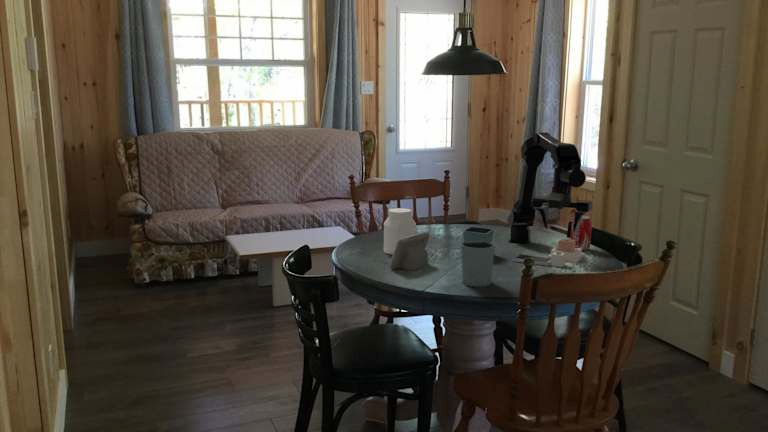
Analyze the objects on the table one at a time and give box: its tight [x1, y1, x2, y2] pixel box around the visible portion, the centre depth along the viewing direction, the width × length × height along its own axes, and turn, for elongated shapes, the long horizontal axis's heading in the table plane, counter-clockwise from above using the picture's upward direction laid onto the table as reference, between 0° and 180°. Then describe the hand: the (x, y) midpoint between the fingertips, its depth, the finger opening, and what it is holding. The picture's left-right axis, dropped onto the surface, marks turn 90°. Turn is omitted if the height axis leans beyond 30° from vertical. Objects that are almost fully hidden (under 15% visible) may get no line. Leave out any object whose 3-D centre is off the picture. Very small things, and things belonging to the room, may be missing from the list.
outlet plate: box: [547, 245, 585, 263], centre depth 232 cm, size 10×10×3 cm
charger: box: [557, 238, 575, 253], centre depth 232 cm, size 4×4×5 cm
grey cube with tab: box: [550, 252, 566, 268], centre depth 222 cm, size 4×4×4 cm
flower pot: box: [462, 226, 494, 243], centre depth 235 cm, size 9×9×9 cm
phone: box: [512, 253, 551, 267], centre depth 226 cm, size 12×6×1 cm, turn 60°
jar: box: [383, 207, 417, 256], centre depth 239 cm, size 12×10×15 cm
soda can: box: [570, 214, 592, 251], centre depth 243 cm, size 7×7×12 cm
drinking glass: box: [460, 241, 496, 288], centre depth 201 cm, size 10×10×12 cm
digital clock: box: [389, 231, 430, 271], centre depth 220 cm, size 16×9×11 cm, turn 130°
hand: (560, 229), depth 220 cm, fingers open, 9 cm apart
